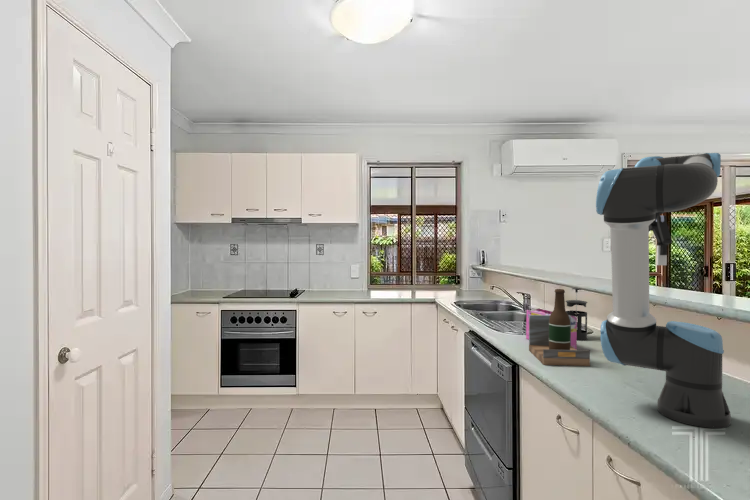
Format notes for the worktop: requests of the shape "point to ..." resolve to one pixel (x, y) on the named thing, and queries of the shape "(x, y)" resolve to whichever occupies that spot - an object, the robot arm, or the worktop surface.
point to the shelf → (541, 345)
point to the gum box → (546, 312)
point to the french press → (578, 316)
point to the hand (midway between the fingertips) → (650, 264)
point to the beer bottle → (559, 324)
